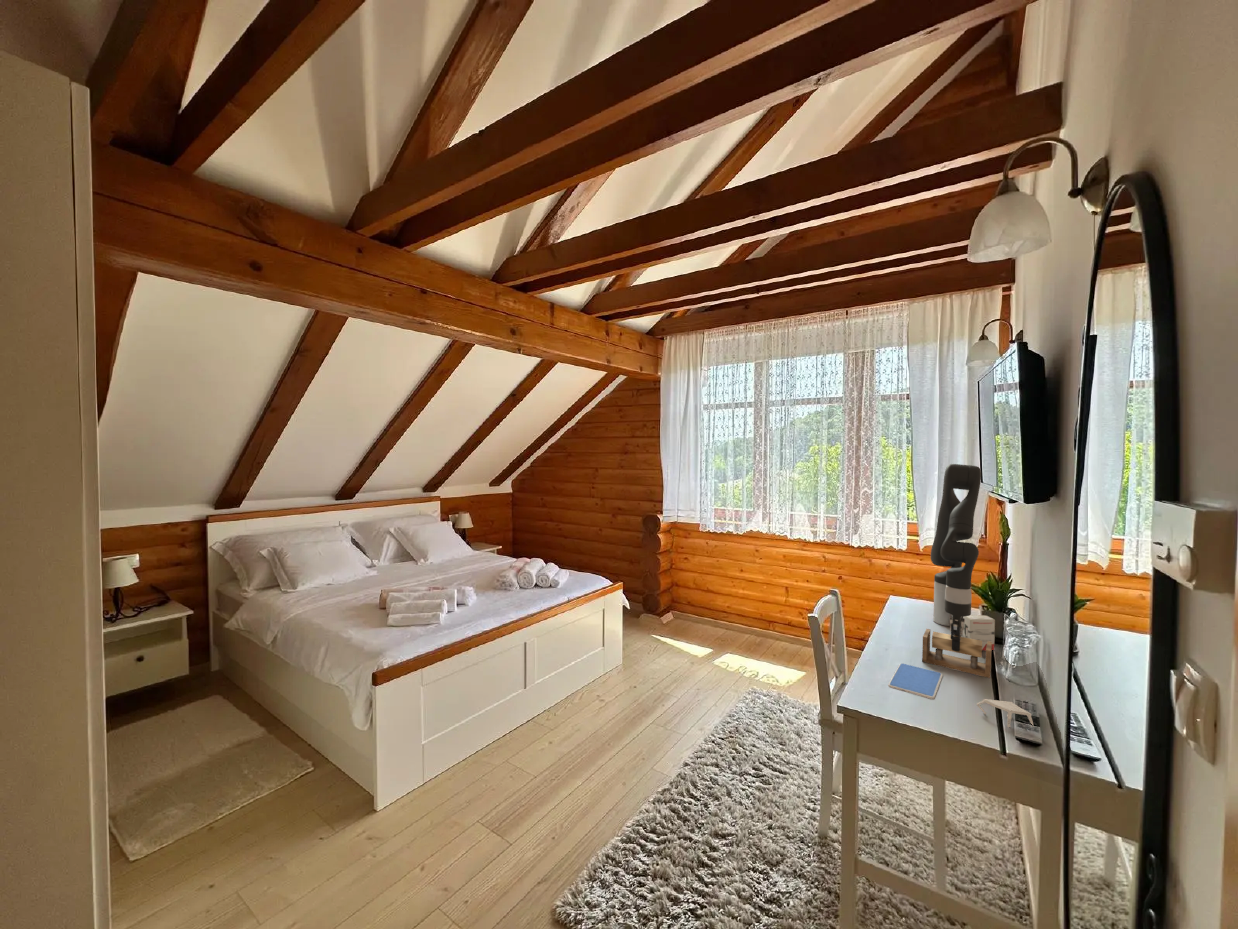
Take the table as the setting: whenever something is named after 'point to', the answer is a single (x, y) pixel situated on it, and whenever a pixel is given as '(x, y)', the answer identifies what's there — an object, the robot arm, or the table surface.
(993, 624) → the ink box
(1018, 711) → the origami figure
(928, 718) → the table surface
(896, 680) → the blue flat rectangular panel
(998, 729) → the table surface
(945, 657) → the peg stand
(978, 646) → the golden rectangular block
